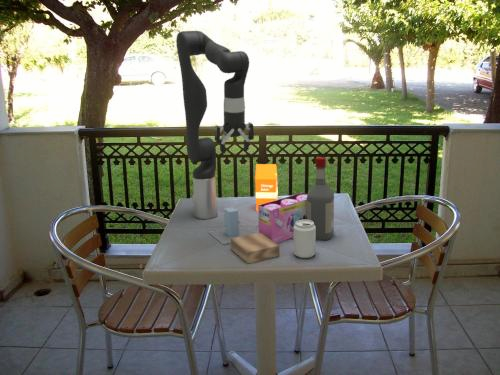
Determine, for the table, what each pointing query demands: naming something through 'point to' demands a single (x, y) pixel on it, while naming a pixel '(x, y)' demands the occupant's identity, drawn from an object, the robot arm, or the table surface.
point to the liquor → (321, 203)
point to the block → (231, 222)
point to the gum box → (282, 216)
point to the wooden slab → (254, 247)
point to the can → (304, 238)
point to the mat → (226, 239)
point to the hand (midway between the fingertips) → (234, 151)
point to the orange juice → (266, 184)
